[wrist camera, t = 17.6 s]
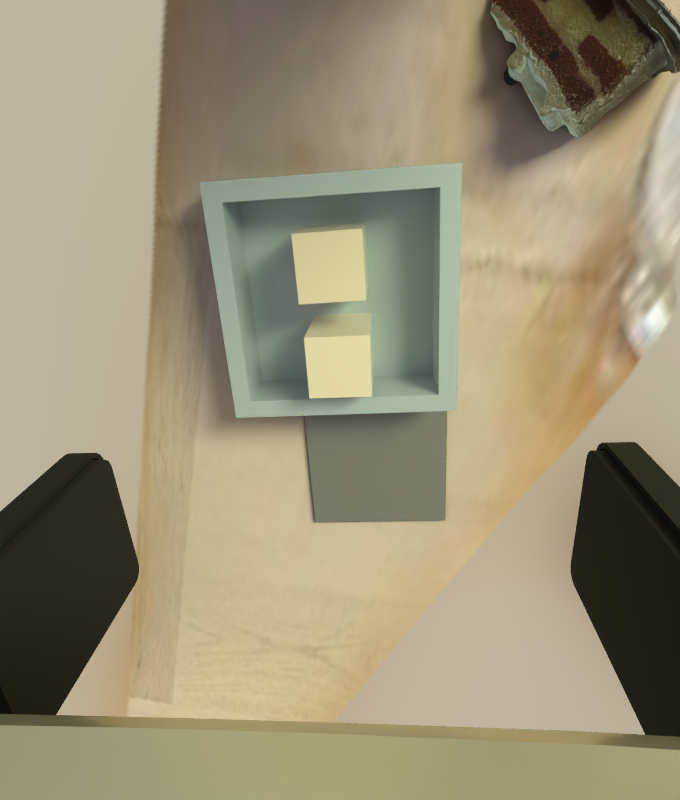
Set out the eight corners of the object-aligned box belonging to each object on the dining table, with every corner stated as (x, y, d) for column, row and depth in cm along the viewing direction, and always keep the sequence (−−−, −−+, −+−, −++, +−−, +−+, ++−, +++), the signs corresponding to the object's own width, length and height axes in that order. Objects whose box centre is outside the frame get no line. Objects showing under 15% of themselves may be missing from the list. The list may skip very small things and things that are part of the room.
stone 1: (305, 226, 34) (291, 234, 29) (364, 222, 34) (361, 228, 28) (311, 286, 36) (298, 304, 30) (368, 282, 35) (366, 300, 30)
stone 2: (315, 315, 36) (303, 337, 31) (370, 312, 36) (369, 335, 31) (319, 368, 38) (309, 398, 32) (372, 366, 38) (372, 396, 32)
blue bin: (220, 182, 34) (199, 182, 30) (451, 165, 33) (462, 162, 28) (250, 393, 40) (236, 417, 36) (448, 386, 38) (456, 410, 34)
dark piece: (438, -2, 29) (535, 132, 25) (545, -138, 25) (686, -8, 21) (513, 83, 36) (600, 202, 31) (607, -13, 32) (724, 107, 27)
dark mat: (303, 402, 40) (303, 404, 39) (446, 397, 39) (447, 399, 38) (315, 520, 44) (315, 522, 44) (444, 518, 43) (445, 520, 43)
